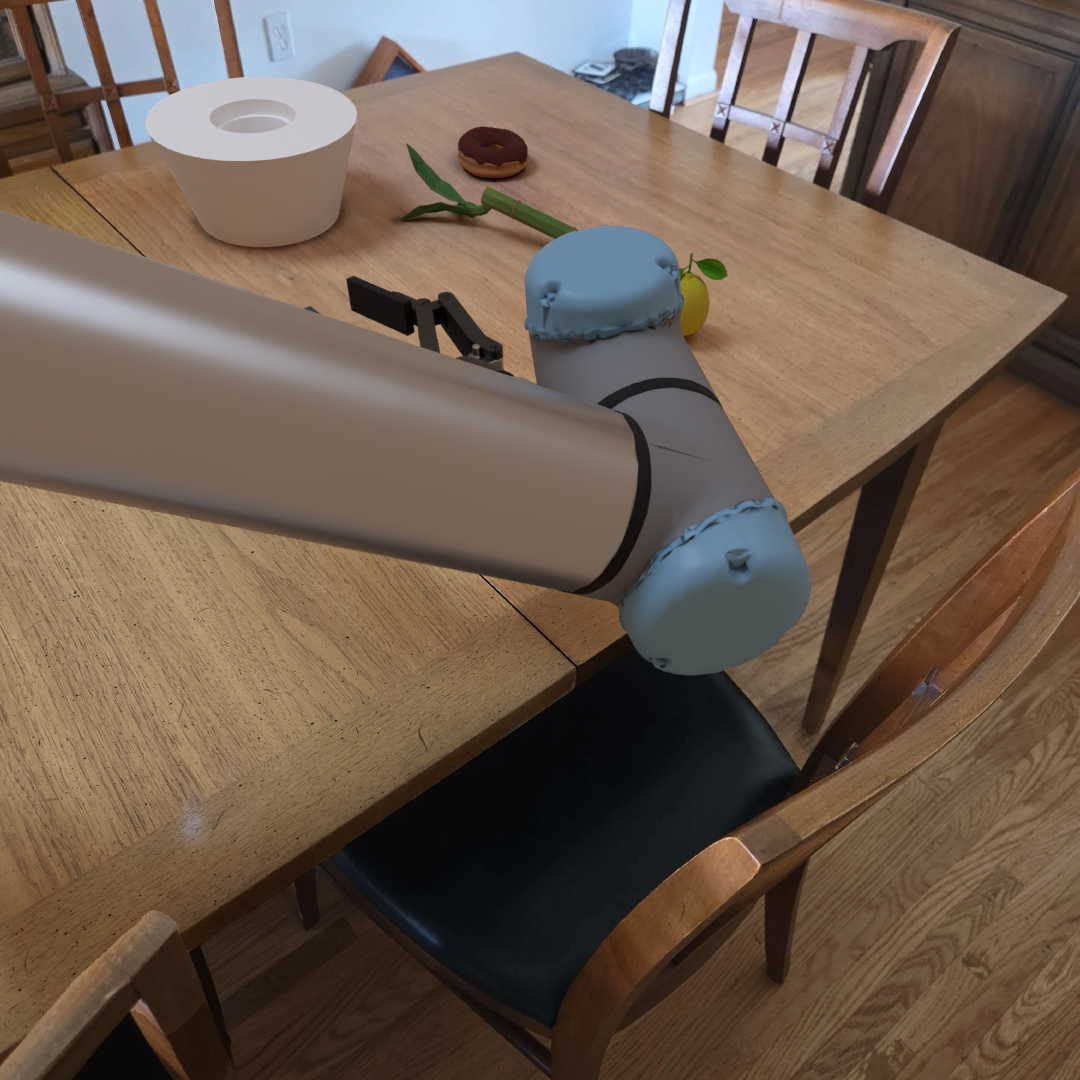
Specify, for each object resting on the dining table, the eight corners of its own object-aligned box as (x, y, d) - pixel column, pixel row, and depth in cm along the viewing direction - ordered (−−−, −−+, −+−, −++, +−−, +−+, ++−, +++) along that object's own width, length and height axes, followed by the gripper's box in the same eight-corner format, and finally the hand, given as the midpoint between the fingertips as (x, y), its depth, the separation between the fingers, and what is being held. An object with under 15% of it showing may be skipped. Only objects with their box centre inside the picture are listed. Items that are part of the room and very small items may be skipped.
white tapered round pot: (300, 154, 129) (287, 62, 120) (404, 221, 117) (398, 124, 108) (135, 204, 117) (107, 106, 108) (233, 284, 105) (210, 181, 96)
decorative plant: (615, 267, 107) (390, 159, 110) (600, 318, 114) (388, 215, 117) (636, 237, 110) (416, 133, 113) (620, 288, 117) (413, 188, 120)
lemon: (716, 330, 103) (733, 247, 96) (698, 357, 99) (715, 273, 92) (660, 313, 105) (672, 231, 97) (640, 339, 101) (652, 256, 94)
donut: (522, 186, 125) (522, 156, 122) (450, 178, 126) (449, 148, 123) (533, 154, 132) (534, 125, 129) (465, 146, 133) (465, 118, 130)
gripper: (354, 576, 55) (152, 443, 65) (607, 395, 69) (408, 309, 79) (333, 476, 50) (119, 349, 60) (611, 303, 64) (398, 224, 74)
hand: (283, 326), depth 70 cm, fingers open, 13 cm apart
